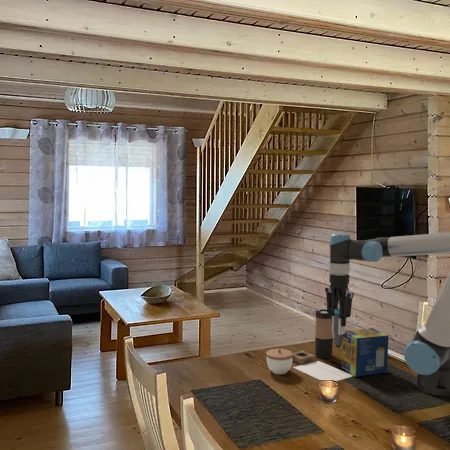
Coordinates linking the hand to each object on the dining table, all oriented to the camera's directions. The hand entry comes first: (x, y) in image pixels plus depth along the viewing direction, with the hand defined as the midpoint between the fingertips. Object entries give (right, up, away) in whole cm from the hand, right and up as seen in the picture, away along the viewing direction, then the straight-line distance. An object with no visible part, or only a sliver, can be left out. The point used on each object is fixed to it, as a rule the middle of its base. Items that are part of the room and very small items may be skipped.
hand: (338, 332), depth 191 cm
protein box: (+12, -17, +8) cm, 22 cm away
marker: (0, -6, 0) cm, 6 cm away
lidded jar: (-22, -17, +7) cm, 29 cm away
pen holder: (-11, -16, +20) cm, 28 cm away
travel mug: (0, -16, +26) cm, 30 cm away
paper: (-5, -17, +6) cm, 19 cm away
